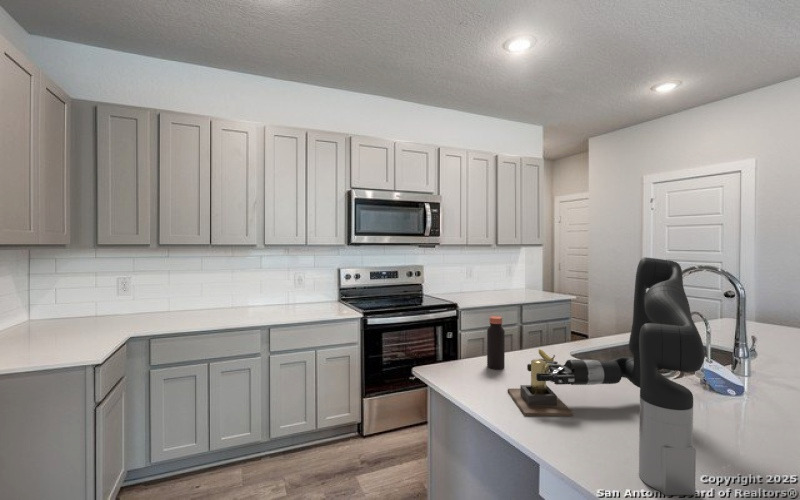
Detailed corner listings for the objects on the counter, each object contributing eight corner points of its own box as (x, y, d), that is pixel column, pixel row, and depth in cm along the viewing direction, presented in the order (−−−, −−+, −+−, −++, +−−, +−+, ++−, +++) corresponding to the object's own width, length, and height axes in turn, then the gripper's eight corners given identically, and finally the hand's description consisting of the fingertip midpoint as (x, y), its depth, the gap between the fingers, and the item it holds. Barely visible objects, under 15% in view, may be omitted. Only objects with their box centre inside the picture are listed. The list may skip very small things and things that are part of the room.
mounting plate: (573, 416, 111) (573, 402, 111) (524, 416, 111) (524, 402, 111) (549, 391, 129) (549, 379, 129) (507, 391, 129) (507, 379, 129)
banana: (536, 358, 165) (536, 348, 165) (541, 357, 166) (541, 348, 166) (551, 365, 156) (551, 355, 156) (556, 364, 156) (556, 355, 156)
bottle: (486, 368, 152) (486, 318, 151) (487, 363, 158) (487, 315, 158) (504, 370, 150) (504, 319, 149) (504, 365, 156) (504, 316, 156)
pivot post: (548, 402, 118) (548, 363, 118) (533, 402, 118) (533, 363, 118) (542, 396, 122) (543, 359, 122) (529, 396, 122) (529, 359, 122)
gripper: (573, 353, 127) (524, 353, 127) (595, 367, 112) (540, 367, 113) (573, 375, 127) (524, 375, 127) (595, 393, 113) (540, 393, 113)
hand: (532, 372), depth 120 cm, fingers open, 8 cm apart
